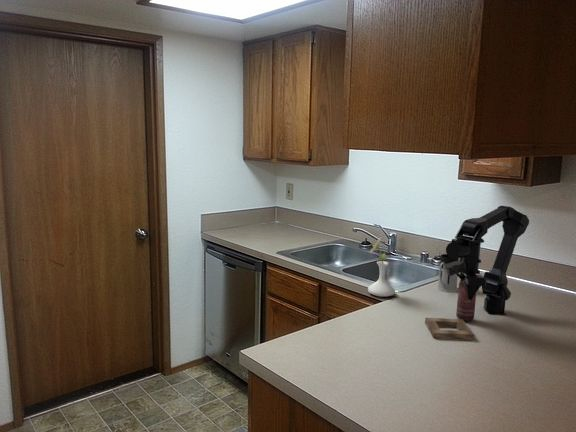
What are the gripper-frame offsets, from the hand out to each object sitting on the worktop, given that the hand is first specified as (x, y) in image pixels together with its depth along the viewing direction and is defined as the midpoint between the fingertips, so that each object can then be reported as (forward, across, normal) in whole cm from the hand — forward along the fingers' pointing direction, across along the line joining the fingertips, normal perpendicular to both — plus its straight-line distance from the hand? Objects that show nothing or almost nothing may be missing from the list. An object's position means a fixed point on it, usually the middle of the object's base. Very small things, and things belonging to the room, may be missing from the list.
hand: (467, 296), depth 168 cm
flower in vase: (+9, -24, -28) cm, 38 cm away
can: (+8, 0, 0) cm, 8 cm away
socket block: (+9, +11, -9) cm, 17 cm away
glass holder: (+9, -33, +1) cm, 34 cm away
